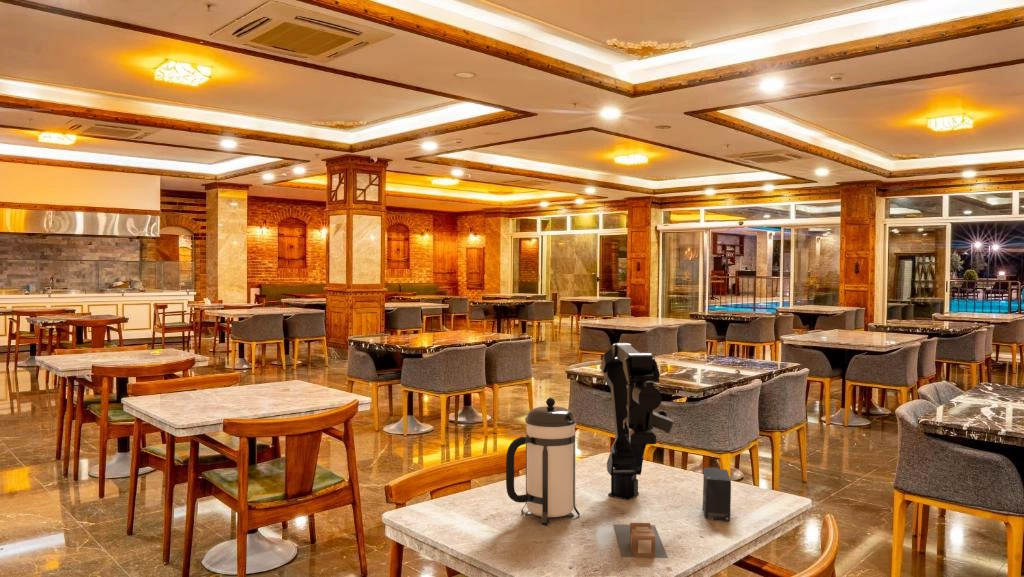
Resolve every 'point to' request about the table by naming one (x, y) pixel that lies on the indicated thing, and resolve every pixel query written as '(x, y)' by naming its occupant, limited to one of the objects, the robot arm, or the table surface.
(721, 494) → the small box
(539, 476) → the coffee press
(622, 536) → the mat
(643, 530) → the brown rectangular block
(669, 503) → the table surface
